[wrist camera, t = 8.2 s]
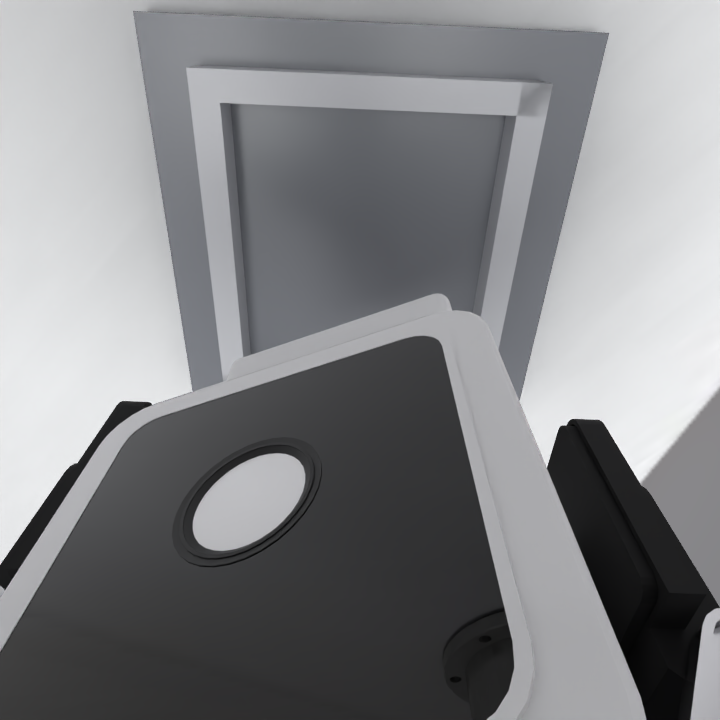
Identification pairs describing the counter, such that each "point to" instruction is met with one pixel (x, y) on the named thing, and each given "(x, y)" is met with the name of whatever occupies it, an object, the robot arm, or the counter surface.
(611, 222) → the counter surface
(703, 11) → the counter surface
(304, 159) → the mounting plate
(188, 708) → the security camera
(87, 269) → the counter surface
